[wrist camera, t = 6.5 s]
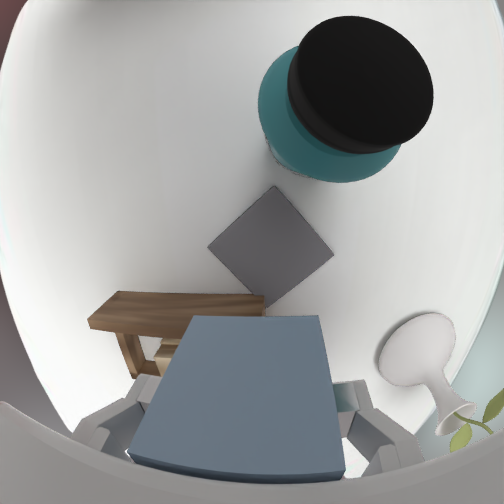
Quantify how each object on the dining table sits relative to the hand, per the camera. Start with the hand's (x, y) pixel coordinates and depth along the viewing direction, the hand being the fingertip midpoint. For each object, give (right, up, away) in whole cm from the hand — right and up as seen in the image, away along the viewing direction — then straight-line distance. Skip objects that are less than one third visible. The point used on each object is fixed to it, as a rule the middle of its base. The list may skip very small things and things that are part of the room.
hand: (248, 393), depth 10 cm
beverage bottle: (+5, +16, +14) cm, 22 cm away
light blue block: (0, +1, +3) cm, 4 cm away
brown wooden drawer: (-7, -5, +22) cm, 24 cm away
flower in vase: (+22, -6, +20) cm, 30 cm away
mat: (+2, +6, +18) cm, 19 cm away
